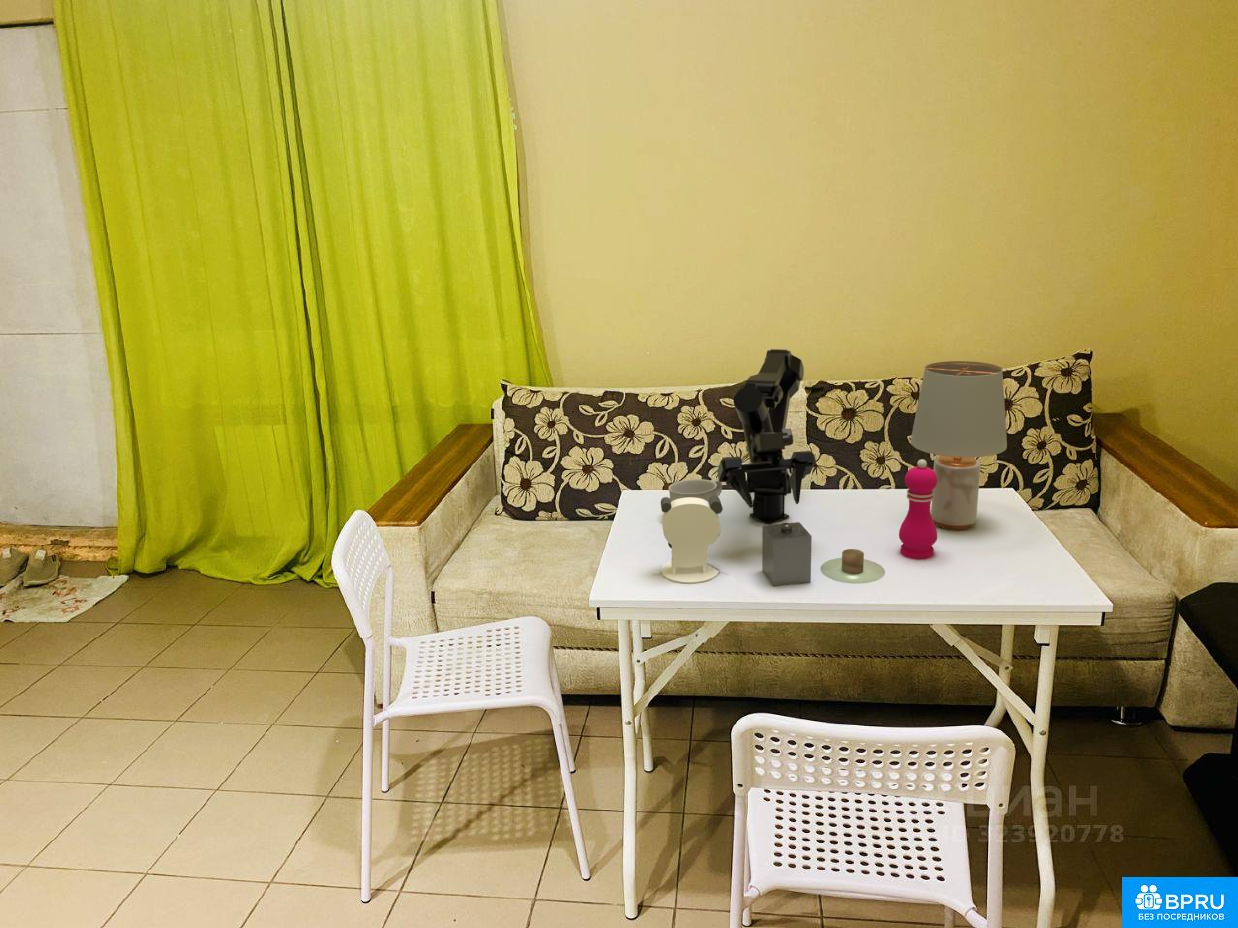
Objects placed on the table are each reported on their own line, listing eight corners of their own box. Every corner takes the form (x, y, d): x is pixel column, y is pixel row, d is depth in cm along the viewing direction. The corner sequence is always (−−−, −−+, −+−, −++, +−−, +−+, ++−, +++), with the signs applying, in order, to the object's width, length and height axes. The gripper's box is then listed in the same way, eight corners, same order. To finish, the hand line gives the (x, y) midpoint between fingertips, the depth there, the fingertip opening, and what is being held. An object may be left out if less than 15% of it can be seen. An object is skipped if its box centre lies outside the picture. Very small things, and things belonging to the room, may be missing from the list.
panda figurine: (719, 558, 187) (718, 488, 182) (725, 582, 176) (724, 508, 172) (659, 561, 187) (657, 490, 183) (662, 584, 176) (660, 511, 172)
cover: (762, 573, 179) (762, 519, 176) (798, 570, 180) (799, 516, 177) (773, 589, 172) (773, 533, 169) (810, 585, 173) (811, 529, 170)
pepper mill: (936, 550, 186) (942, 455, 180) (935, 564, 180) (942, 466, 174) (898, 547, 188) (903, 453, 182) (896, 561, 182) (901, 464, 176)
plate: (852, 555, 185) (852, 552, 185) (898, 575, 176) (898, 572, 175) (807, 570, 180) (807, 567, 179) (852, 591, 170) (852, 588, 170)
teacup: (685, 530, 202) (684, 496, 200) (660, 516, 211) (659, 482, 209) (738, 517, 208) (738, 484, 206) (712, 504, 217) (711, 471, 215)
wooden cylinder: (852, 564, 180) (852, 547, 179) (867, 570, 177) (868, 553, 176) (837, 569, 178) (837, 552, 177) (852, 576, 175) (853, 559, 174)
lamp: (894, 531, 197) (902, 374, 186) (920, 503, 212) (929, 356, 201) (988, 547, 186) (1001, 381, 176) (1008, 516, 201) (1022, 363, 191)
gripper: (720, 418, 178) (734, 490, 171) (813, 411, 180) (832, 482, 173) (711, 446, 188) (724, 515, 181) (800, 439, 190) (817, 507, 183)
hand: (774, 505), depth 179 cm, fingers open, 9 cm apart
